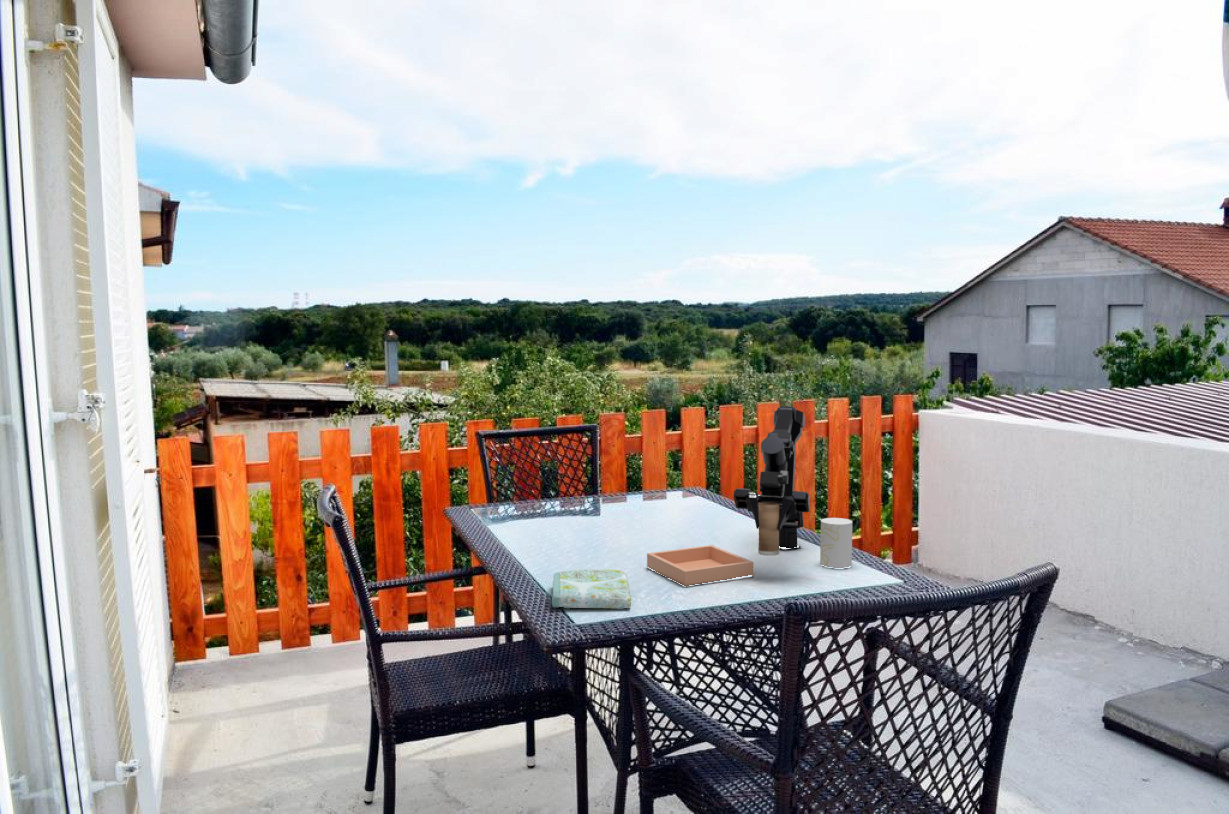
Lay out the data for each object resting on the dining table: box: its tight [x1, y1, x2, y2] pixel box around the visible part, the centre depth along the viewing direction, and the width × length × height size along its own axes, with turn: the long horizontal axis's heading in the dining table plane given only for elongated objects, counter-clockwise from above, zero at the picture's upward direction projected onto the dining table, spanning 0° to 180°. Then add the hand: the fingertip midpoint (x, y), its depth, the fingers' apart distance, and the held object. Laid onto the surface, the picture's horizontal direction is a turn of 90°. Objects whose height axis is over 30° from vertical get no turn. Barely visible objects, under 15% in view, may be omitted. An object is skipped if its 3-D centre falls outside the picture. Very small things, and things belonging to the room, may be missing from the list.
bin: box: [646, 544, 755, 586], centre depth 242 cm, size 20×20×4 cm
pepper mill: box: [757, 502, 780, 557], centre depth 234 cm, size 5×5×12 cm
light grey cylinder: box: [819, 517, 853, 568], centre depth 248 cm, size 8×8×12 cm
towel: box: [551, 568, 632, 609], centre depth 221 cm, size 18×21×5 cm
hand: (767, 528), depth 233 cm, fingers closed on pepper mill, 5 cm apart
